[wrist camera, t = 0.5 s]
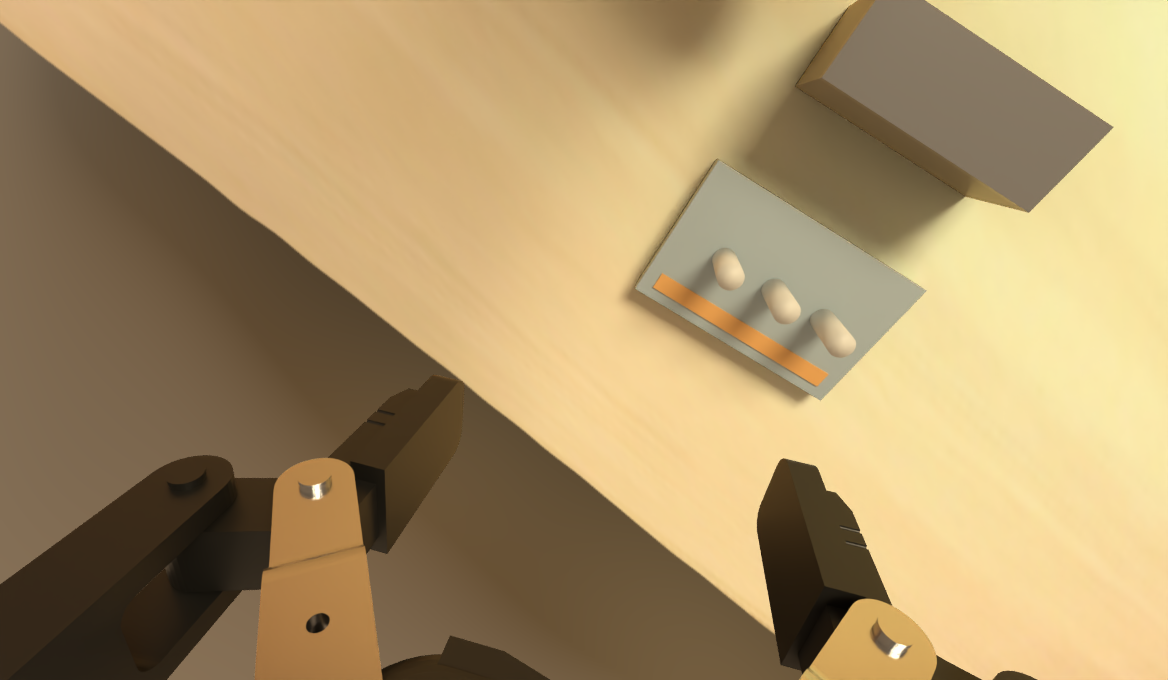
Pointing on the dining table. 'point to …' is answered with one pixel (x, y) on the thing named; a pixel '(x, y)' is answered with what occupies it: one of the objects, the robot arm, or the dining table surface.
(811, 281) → the board
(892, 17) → the block
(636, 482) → the dining table surface
